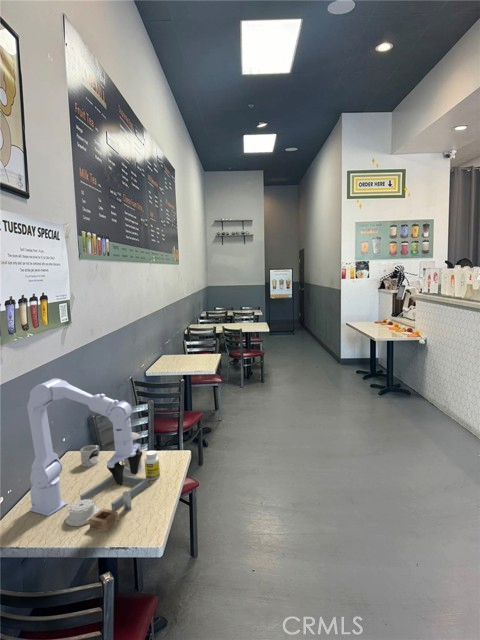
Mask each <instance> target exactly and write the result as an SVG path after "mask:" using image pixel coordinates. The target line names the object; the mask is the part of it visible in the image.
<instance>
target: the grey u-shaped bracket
mask: <svg viewBox="0 0 480 640" xmlns="http://www.w3.org/2000/svg"><path fill="white" fill-rule="evenodd" d="M114 483H116V482H115V480H114V477H113V475H112V474H111V475H110V476H109V477H107V478H105V479H104V480H102V481H101V482H99V483H98V484H95V486H93V487H91V488H90V489H88V490H87V491H85V492H83V493H82V494H80V495H79V496H80V497H79V498H80V501H81V500H84V499H86V500H87V499H89V498H90V499H91V497H92V498H93V497H95V496H96V495H98V494H99V493H101V492H102V491H104V490H105V489H107V488H108V487H110V486H111V485H113V484H114ZM123 484H129V485H134V486H133V487H132V488H131V489H129V490H128V491H129V492H130V496H131V499H133V498H134V497H135V496H137V495H138V494H140V493H141V492H142V491H144V490H145V489H146V488H147V487H148V486H149V480H148V479H146V478H142V477H138V476H135V475H130V476H129V475H124V474H123ZM94 495H95V496H94ZM132 497H133V498H132ZM90 499H89V500H90ZM122 506H124V503H123V494H121V496H119V497H117V498H116V499H115V500H114V501H112V502H111V505H110V507H111V510H112V511H117V510H118V509H119V508H121V507H122Z"/></svg>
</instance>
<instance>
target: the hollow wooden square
mask: <svg viewBox="0 0 480 640" xmlns="http://www.w3.org/2000/svg"><path fill="white" fill-rule="evenodd" d="M118 522H119V513H118V511H117V510H115V511H112V509H108V508H105V507H103V508H102V509H100V510H99V512H98V513H96V514H95V515H93V516H92V517H91V518H89V523H88V524H89V529H93V530H96V531H99V532H103V533H105V532H107V531H108V530H110V528H112V527H114V525H115V524H117V523H118Z"/></svg>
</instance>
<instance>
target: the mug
mask: <svg viewBox="0 0 480 640" xmlns="http://www.w3.org/2000/svg"><path fill="white" fill-rule="evenodd" d="M79 450H80V460H81V466H82V467H83V468H92V467H94V466H97V465H98V464H99V455H100V447H99V445H97V444H96V445H93V444H92V445H91V444H89V445H85V446H84V447H82V448H80V449H79ZM97 463H98V464H97Z"/></svg>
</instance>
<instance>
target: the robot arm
mask: <svg viewBox="0 0 480 640" xmlns="http://www.w3.org/2000/svg"><path fill="white" fill-rule="evenodd" d="M61 399H67V400H68V399H69V400H72V401H74V402H77V403H81V404H84V405H86V406H87V407H88V408H89V410H90V411H92V412H93V413H96V414H99V415H102V416H104V417H106V418H108V419H109V420H108V421H110V422H111V423H112V430H113V441H114V442H113V443H114V450H115V451H114V454H113V455H112V456H111V457H110V459H108V460H107V461H106V464H107V465H106V468H107V470H109V473H111V476H112V475H113V477H114V480H115V482H114V483H115V485H117V486H123V484H124V482H123V470H124V465H122V464H121V463H120V462H121V461H122V460H123V459H126V458H128V461H129V465H130V471H131V474H135V475H138V474H137V472H138V466H139V462H140V459H141V460H142V456H143V451H139V450H142V447H141V444H140V443H136V444H134V445H133V443H134V441H133V440H132V432H133V431H132V422H131V421H132V419H131V417H130V416H131V414H132V413H133V407H132V405H131V404H130V403H129V402H127V400H121V401H119V400H118V399H112V398H110V397H107V396H106V393H105V394H104V393H101V394H100V393H98V394H94V395H93V394H91V393H89V392H86V391H84V390H82V389H80V388H79V387H76V386H74V385H72V384H70V383H68V381H67V380H63V379H60V378H57V377H54V378H51V379H50V380H48V381H45V382H43V383H39V384H37V385H35V386H34V387H33V388H32V389H31V390H30V391H29V399H28V403H27V405H26V406H27V414H28V420H29V426H30V432H31V438H32V439H31V440H32V443H33V444H32V445H33V449H34V456H35V458H34V460H33V463H32V464H31V468H30V469H31V472H30V473H31V474H30V476H29V477H30V478H29V479H30V483H31V486H30V489H29V495H30V503H31V508H29V512H33V513H37V514H40V515H44V516H46V517H49V516H51V515H52V514H54V513H56V512H57V511H58V510H60V509H62V508H63V507H65V506H67V505H68V503H69V502H68V501H64V500H62V491H61V482H60V478H61V477H60V476H61V475H60V474H61V473H62V471H63V464H62V462H61V460H60V459H59V454H58V453H56V452H54V447H53V441H52V436H51V430H50V425H49V424H50V423H49V417H48V409H47V408H48V407H49V406H50V404H51V403H52V402H54V401H57V400H61ZM123 461H124V460H123Z"/></svg>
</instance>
